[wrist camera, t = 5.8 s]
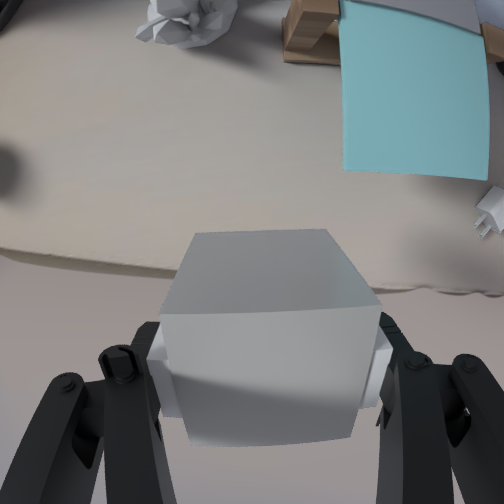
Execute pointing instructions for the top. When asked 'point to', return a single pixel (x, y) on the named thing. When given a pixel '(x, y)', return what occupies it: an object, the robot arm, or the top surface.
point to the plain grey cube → (268, 338)
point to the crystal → (187, 21)
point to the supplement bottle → (500, 66)
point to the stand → (327, 34)
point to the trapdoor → (414, 88)
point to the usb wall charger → (491, 211)
